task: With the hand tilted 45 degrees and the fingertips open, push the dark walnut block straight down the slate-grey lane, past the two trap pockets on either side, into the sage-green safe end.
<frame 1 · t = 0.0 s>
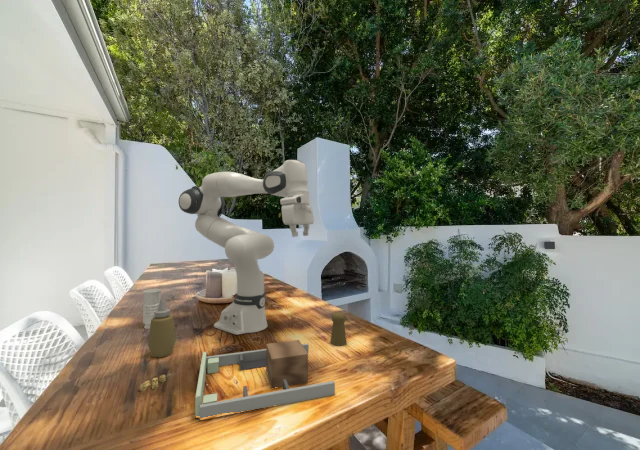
hand: (300, 236, 110), 39 cm above the table, tool pointing down, fingers open, 8 cm apart
walnut block: (286, 376, 81), on the table
dice set: (152, 388, 76), on the table
olive pawn: (338, 343, 104), on the table
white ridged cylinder: (152, 326, 119), on the table
squeeze bottle: (162, 354, 94), on the table
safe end: (227, 385, 76), on the table
trap box: (265, 379, 79), on the table
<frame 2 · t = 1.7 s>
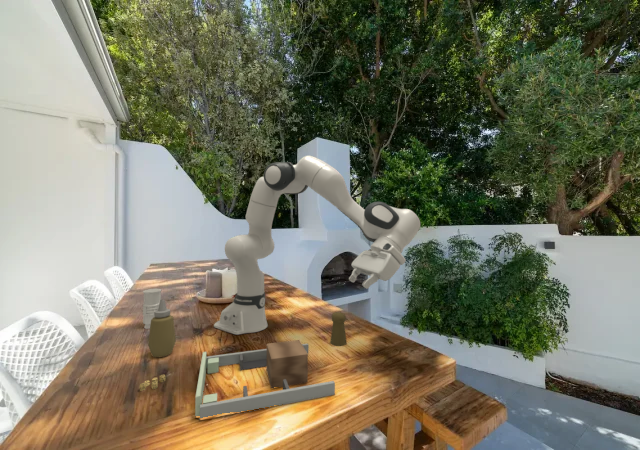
hand: (357, 283, 88), 25 cm above the table, tool tilted 45°, fingers open, 8 cm apart
nothing on the table moved.
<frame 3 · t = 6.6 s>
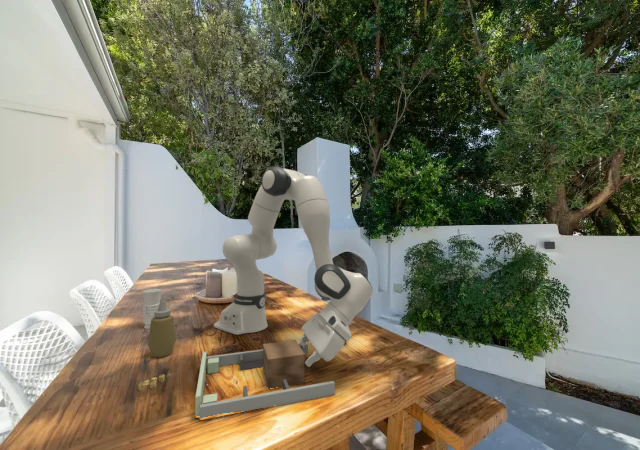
hand: (301, 356, 83), 5 cm above the table, tool tilted 45°
walnut block: (282, 376, 81), on the table, touching gripper
everything else where it was.
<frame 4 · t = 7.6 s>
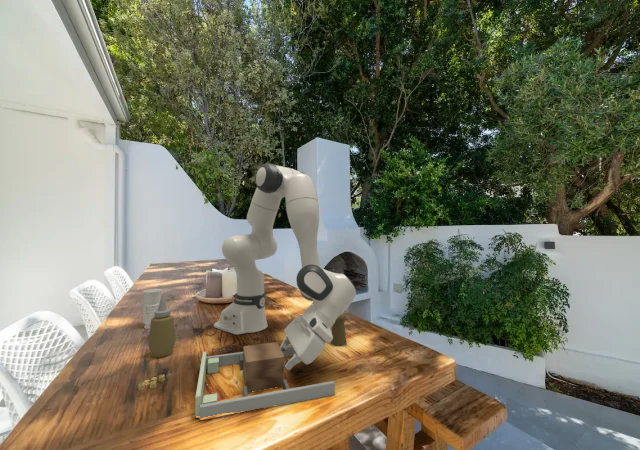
hand: (282, 359, 81), 5 cm above the table, tool tilted 45°
walnut block: (262, 379, 79), on the table, touching gripper
everything else where it was.
when the fingers open (5 cm above the table, at t = 8.5 s): walnut block moves 3 cm, on the table.
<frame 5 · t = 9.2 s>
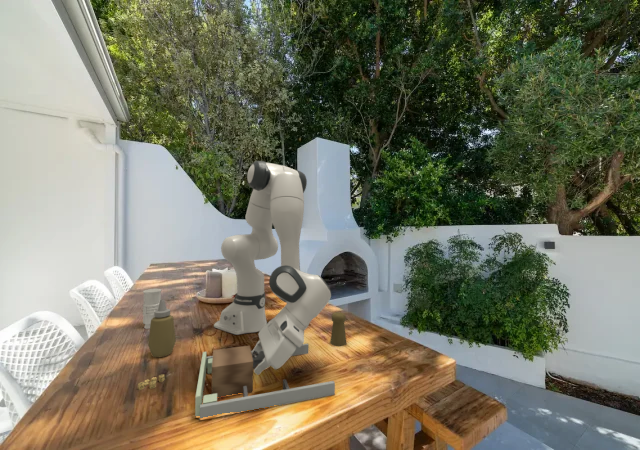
hand: (253, 363, 78), 5 cm above the table, tool tilted 45°, fingers open, 8 cm apart
walnut block: (232, 385, 77), on the table, touching gripper
everything else where it was.
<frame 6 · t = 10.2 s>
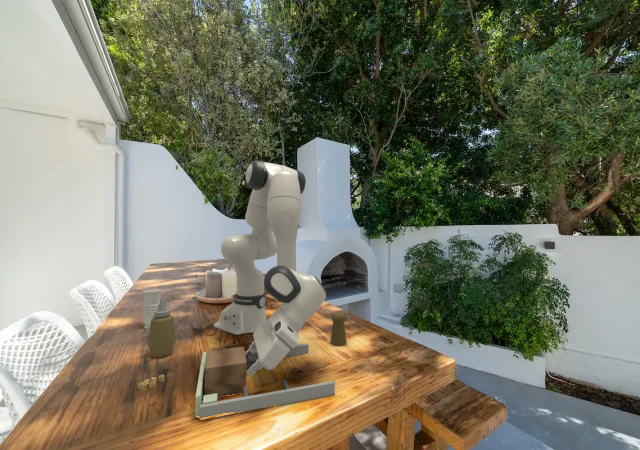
hand: (247, 364, 78), 5 cm above the table, tool tilted 45°, fingers open, 8 cm apart
walnut block: (225, 386, 76), on the table
everything else where it was.
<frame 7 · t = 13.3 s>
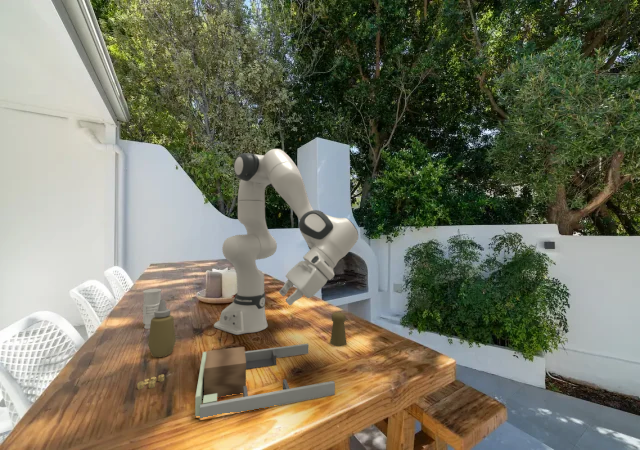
hand: (284, 298, 81), 22 cm above the table, tool tilted 45°, fingers open, 8 cm apart
nothing on the table moved.
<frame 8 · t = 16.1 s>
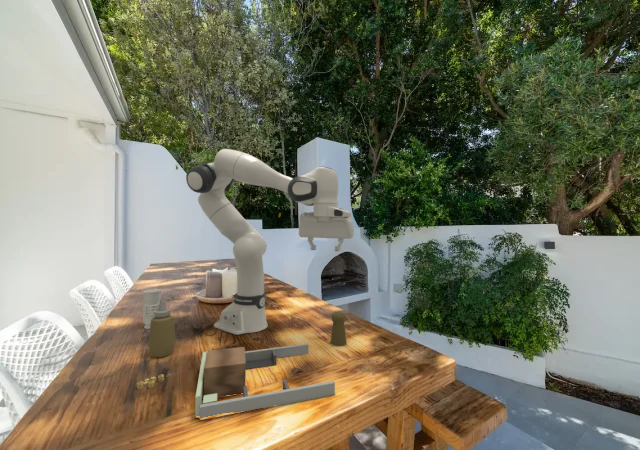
hand: (325, 250, 102), 34 cm above the table, tool pointing down, fingers open, 8 cm apart
at the end: walnut block 0.6 cm from the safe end (horizontally); walnut block tilted 0°; the gripper is holding nothing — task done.
